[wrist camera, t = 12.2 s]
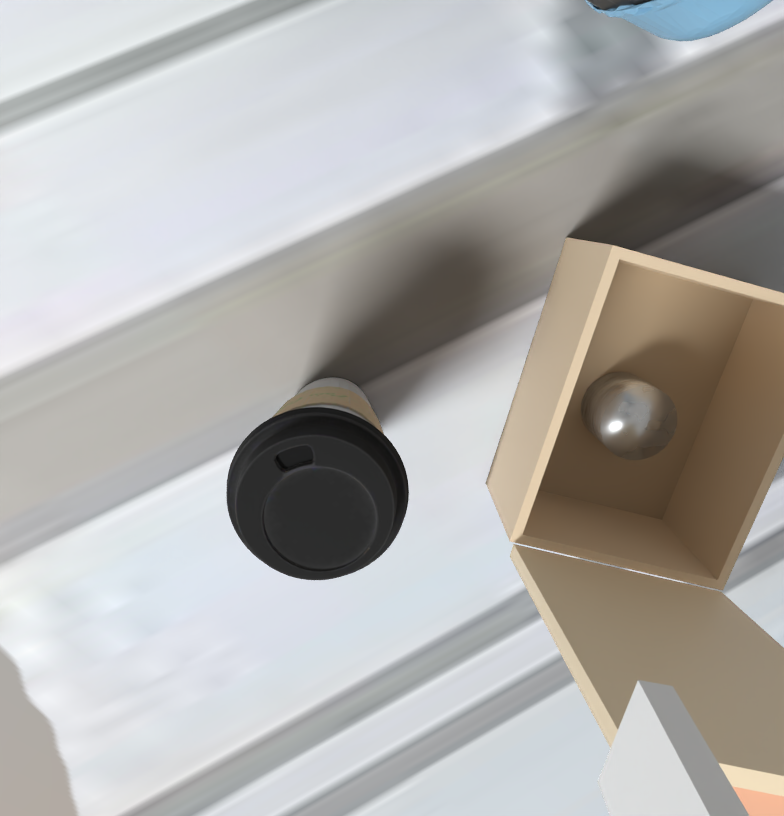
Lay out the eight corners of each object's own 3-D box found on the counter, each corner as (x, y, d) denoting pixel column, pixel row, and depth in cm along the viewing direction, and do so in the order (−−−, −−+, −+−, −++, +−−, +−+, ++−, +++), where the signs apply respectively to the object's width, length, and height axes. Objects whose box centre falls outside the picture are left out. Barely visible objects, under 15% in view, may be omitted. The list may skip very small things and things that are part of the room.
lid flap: (625, 743, 24) (551, 945, 25) (968, 813, 25) (876, 1000, 27) (513, 544, 41) (473, 672, 42) (721, 591, 42) (674, 714, 44)
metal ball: (604, 359, 46) (626, 373, 43) (664, 390, 47) (692, 406, 43) (567, 422, 48) (586, 441, 44) (627, 451, 48) (650, 472, 45)
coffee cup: (327, 324, 46) (308, 379, 32) (426, 416, 48) (450, 506, 34) (236, 420, 48) (178, 514, 33) (335, 505, 50) (321, 627, 35)
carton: (566, 237, 45) (612, 245, 36) (759, 291, 46) (849, 311, 37) (485, 482, 50) (509, 541, 41) (663, 525, 51) (722, 590, 42)
